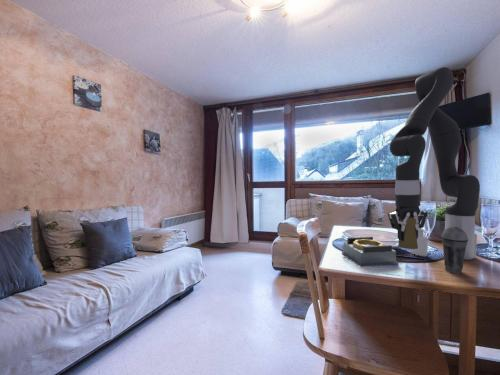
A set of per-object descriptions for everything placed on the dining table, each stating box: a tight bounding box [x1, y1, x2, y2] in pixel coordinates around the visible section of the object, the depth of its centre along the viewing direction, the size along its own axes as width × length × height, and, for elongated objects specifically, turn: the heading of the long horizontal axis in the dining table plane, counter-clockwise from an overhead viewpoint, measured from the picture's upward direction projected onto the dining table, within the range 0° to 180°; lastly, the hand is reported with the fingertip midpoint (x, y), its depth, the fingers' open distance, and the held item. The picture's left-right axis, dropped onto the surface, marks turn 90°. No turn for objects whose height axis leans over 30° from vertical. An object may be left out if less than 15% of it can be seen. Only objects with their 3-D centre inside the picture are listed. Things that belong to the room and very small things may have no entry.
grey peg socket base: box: [341, 236, 399, 267], centre depth 101 cm, size 15×15×7 cm
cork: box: [397, 217, 418, 250], centre depth 88 cm, size 6×6×11 cm
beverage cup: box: [440, 215, 468, 275], centre depth 86 cm, size 7×7×20 cm
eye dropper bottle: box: [410, 228, 429, 257], centre depth 103 cm, size 4×6×12 cm
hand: (407, 240), depth 89 cm, fingers closed on cork, 4 cm apart
